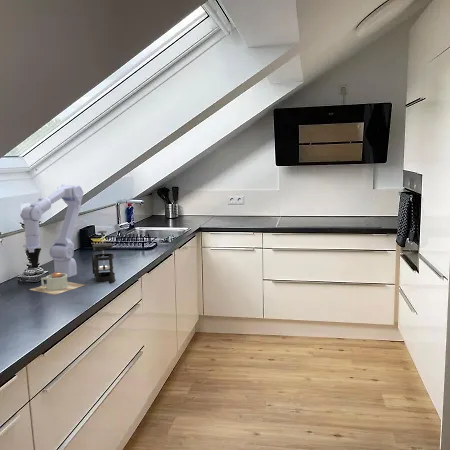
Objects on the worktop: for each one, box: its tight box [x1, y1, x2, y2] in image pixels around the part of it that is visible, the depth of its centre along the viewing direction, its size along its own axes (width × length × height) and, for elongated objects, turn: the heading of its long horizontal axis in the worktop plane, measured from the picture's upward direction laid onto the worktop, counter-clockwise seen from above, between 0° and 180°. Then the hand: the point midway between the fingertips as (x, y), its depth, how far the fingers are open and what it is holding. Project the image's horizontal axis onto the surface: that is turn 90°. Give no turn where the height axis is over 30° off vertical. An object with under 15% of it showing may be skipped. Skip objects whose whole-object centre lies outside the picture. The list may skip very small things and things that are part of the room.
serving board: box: [29, 281, 85, 296], centre depth 200 cm, size 16×16×1 cm
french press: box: [91, 230, 116, 284], centre depth 211 cm, size 12×9×23 cm
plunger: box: [51, 271, 62, 278], centre depth 200 cm, size 6×6×6 cm
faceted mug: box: [40, 273, 68, 290], centre depth 200 cm, size 11×9×5 cm
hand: (35, 265), depth 203 cm, fingers closed
